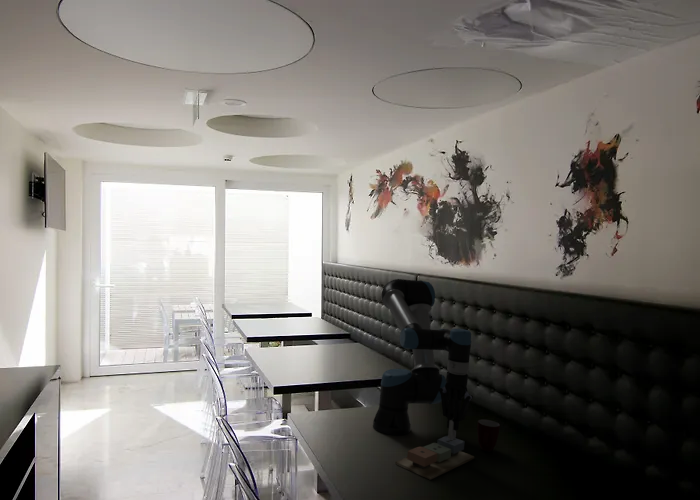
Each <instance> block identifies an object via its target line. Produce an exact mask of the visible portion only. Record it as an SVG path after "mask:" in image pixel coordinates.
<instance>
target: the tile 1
mask: <svg viewBox="0 0 700 500" xmlns="http://www.w3.org/2000/svg"><path fill="white" fill-rule="evenodd" d="M423 447H424V446H420V445H419V446H417V447H414V448H411V449H409V450H407V456H406V457H407V459H408V460H410V461H412V462H415V463H417V464H419V465H421V466H424V467H425V466H428V465H430V464H432V463H434V462H436V461H437V453H436V452H433V451H431V450H428V449H426V448H423Z"/></svg>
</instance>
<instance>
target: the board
mask: <svg viewBox="0 0 700 500" xmlns="http://www.w3.org/2000/svg"><path fill="white" fill-rule="evenodd" d="M474 459H475V456H474V455H471V454H470V453H466V452H464V451H463V450H461V451H459V452H457V453H455V454H453V453H451V457H450V458H448V459H446V460H443V461H441V462H438V461H436V462H434V463H432V464H430V465H428V466H425V467H424V466H421V465H419V464H417V463H415V462H412V461H410V460H408V459H407V456H406V457H404V458H401V459H399V460H396V461H395V465H397V466H399V467H400V468H402V469H403V468H404V469H405V470H408V471H410V472H411V473H414V474H417V475H419V476H421V477H423V478H425V479H428V480H429V481H431V480H434V479H435V478H438V477H440V476H441V475H443V474H445V473H448V472H450V471H452V470H453V469H456V468H457V467H460V466H462V465H464V464H466V463H468V462H471V461H472V460H474Z"/></svg>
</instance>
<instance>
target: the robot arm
mask: <svg viewBox="0 0 700 500" xmlns="http://www.w3.org/2000/svg"><path fill="white" fill-rule="evenodd" d="M380 295H381V296H380V298H381V301H382V303H383V305H384V307H385V308H386V309H388V310H389V311H390V313H391V315H392V318H393V319H394V321H395V322H396V325H397V326H398V328H399V330H400V333H399V342H400V343H399V344H400V346H401V347H402V348H403V349H410V350H412V357H413V365H414V367H413V368H412V369H411V370H410V369H405V368H390V369H387V370H385V371H384V372H383V373H382V376H381V381H380V390H379V391H380V392H379V393H380V394H379V403H378V409H377V412H376V414H375V416H374V419H373V420H372V421H373V422H372V428H373V429H374V430H376V431H377V432H378V433H379V432H380V433H381V434H385V435H389V436H390V435H391V436H404V435H408V434H410V432H411V427H412V425H411V421H410V416H409V404H427V405H432V404H434V405H435V404H440V403H441V407H442V410H441V411H442V416H444V417H446V419H447V425H446V427H447V429H448V433H447V434H448V435H447V436H448V438H449V439H451V440H452V439H454V438H456V437H457V431H458V430H459V426H460V424H459V423H460V422H462V421H464V420H465V419H466V416H467V412H468V409H469V405H470V403H471V401H472V400H473V399H474V396H473V395H471V394H470V393H469V391H468V380H469V374H468V373H469V368H470V367H469V366H470V357H471V346H472V332H471V331H470V330H468V329H465V328H464V329H463V328H457V327H456V328H451V330H450V329H445V328H440V329H432V328H431V321H430V314H429V313H430V311H431V310H432V307H434V305H435V303H436V292H435V287H434V286H433V284H432V283H430V282H429V281H425V280H421V279H420V280H413V279H403V278H397V279H396V278H395V279H391V280H390V281H389V282H387V283H386V284H385V285H384V287H383V288H382V290H381V294H380ZM434 351H446V352H448V358H447V366H446V367H447V368H446V369H447V372H446V377H445V375H443V374H441V373H440V368H439V367H437V365H436V363H435V355H434ZM463 398H464V400H463ZM456 439H457V438H456Z"/></svg>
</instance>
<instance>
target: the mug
mask: <svg viewBox="0 0 700 500" xmlns="http://www.w3.org/2000/svg"><path fill="white" fill-rule="evenodd" d="M500 427H501V425H500V423H499V422H497V421H494V420H491V419H484V418H483V419H478V420H477V426H476V431H477V433H476V434H477V442H478V444H479V447H480V449H481V450H482V451H484V452H492V451H493V450H494V448H495V447H496V445H497V441H498V439H499V434H500V429H501V428H500Z"/></svg>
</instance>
